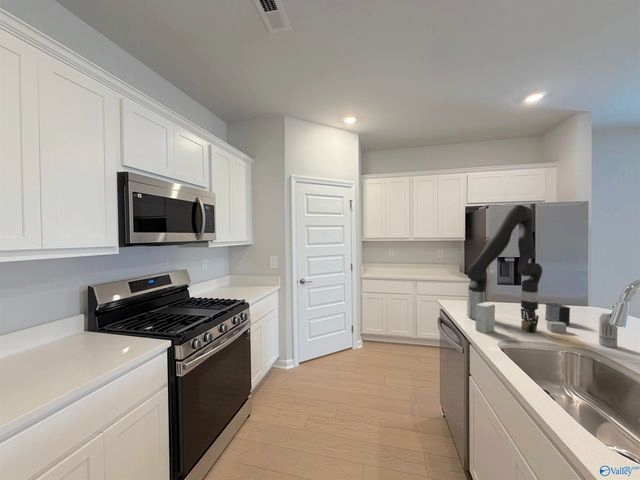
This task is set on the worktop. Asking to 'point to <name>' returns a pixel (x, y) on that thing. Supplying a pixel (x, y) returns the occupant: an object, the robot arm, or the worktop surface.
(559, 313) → the small box
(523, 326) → the walnut cube
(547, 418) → the worktop surface
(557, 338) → the letter
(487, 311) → the skincare box
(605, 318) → the energy drink can
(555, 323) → the grey block
